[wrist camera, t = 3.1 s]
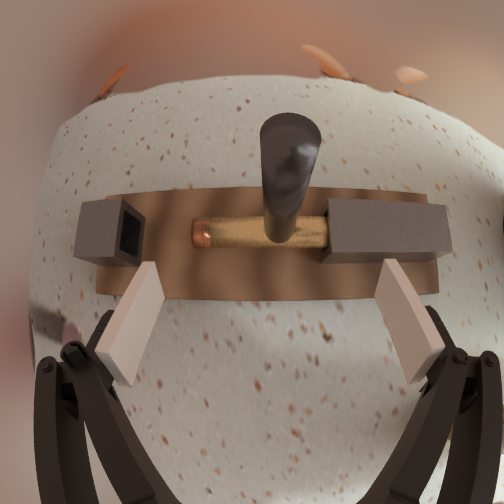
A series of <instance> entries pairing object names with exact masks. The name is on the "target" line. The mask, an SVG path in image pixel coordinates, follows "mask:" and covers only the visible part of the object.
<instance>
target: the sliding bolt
mask: <svg viewBox="0 0 504 504" xmlns="http://www.w3.org/2000/svg"><path fill="white" fill-rule="evenodd" d="M320 144H321V134H320V131H319V129H318V127H317V126H316V124H315V123H314V122H313V121H311V120H310V119H308V118H307V117H305V116H302V115H300V114H296V113H281V114H277V115H274V116H272V117H270V118H269V119H268V120H266V121H265V123H264V124H263V125H262V127H261V130H260V146H261V167H262V189H263V212H264V216H235V217H194V218H193V220H192V224H191V241H192V245H193V248H194V249H227V248H329V247H330V239H329V224H328V217H325V216H299V213H300V210H301V207H302V204H303V200H304V197H305V194H306V191H307V187H308V184H309V181H310V177H311V174H312V171H313V167H314V164H315V161H316V157H317V154H318V151H319V147H320Z"/></svg>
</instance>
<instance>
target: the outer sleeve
mask: <svg viewBox="0 0 504 504" xmlns="http://www.w3.org/2000/svg"><path fill="white" fill-rule="evenodd" d="M319 216H325V217H328V224H329V239H330V247H329V248H319V252H320V264H342V263H383V262H384V259H396V260H397V262H398V263H405V262H427V261H430V260H433V259H435V258H438V257H441V256H443V255H446V254H449V253H451V252H452V244H451V237H450V231H449V225H448V219H447V214H446V209H445V205H436V204H425V203H413V202H400V201H385V200H367V199H344V198H328V199H327V201H326V203H325V205H324V207H323V209H322V211H321V213H320V215H319Z"/></svg>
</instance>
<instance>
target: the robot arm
mask: <svg viewBox="0 0 504 504" xmlns="http://www.w3.org/2000/svg"><path fill="white" fill-rule="evenodd" d="M503 225H504V223H503ZM374 296H375V299H376V301H377V303H378V306H379V308H380V310H381V313H382V315H383V318H384V320H385V322H386V325H387V327H388V330H389V332H390V335H391V338H392V340H393V343H394V345H395V348H396V351H397V353H398V356H399V359H400V362H401V365H402V367H403V370H404V373H405V376H406V379H407V382H408V384H412V383H416V382H420V381H421V380H422V379H423V378H424V376H425V375H426V376H427V379H428V381H427V382H426V383H425V385H424V386H423V387H422V388H421V390H420V391H419V392H422V394H421V396H420V398H419V401H418V403H417V405H416V408H415V410H414V412H413V414H412V416H411V418H410V420H409V423H408V425H407V427H406V429H405V431H404V432H403V434H402V436H401V438H400V440H399V442H398V444H397V446H396V447H395V449H394V451H393V453H392V454H391V456H390V458H389V459H388V461H387V463H386V464H385V466H384V468H383V469H382V471H381V472H380V474H379V475H378V477H377V479H376V480H375V481H374V483H373V484H372V486H371V487H370V489H369V490H368V492H367V493H366V494H365V496H364V497H363V498H362V499H361V500H360V501H358V502H357V503H356V504H420V503H419V498H420V496H421V494H422V492H423V491H424V489H425V487H426V485H427V483H428V481H429V479H430V477H431V475H432V473H433V471H434V469H435V467H436V465H437V463H438V460H439V458H440V456H441V453H442V451H443V449H444V446H445V444H446V441H447V439H448V436H449V433H450V431H451V428H452V425H453V431H452V438H451V444H450V450H449V456H448V461H447V466H446V470H445V475H444V479H443V483H442V486H441V490H440V494H439V497H438V500H437V504H492V502H493V498H494V494H495V489H496V484H497V478H498V472H499V464H500V456H501V445H502V427H503V402H502V383H501V371H500V362H499V359H498V357H497V355H496V354H495V353H493V352H492V351H484V352H483V353H482V354H481V356H480V357H473V356H468V354H467V353H466V352H465V351H464V350H463V349H461V348H457V347H455V345H454V343H453V341H452V339H451V337H450V335H449V333H448V331H447V329H446V327H445V326H444V324H443V322H442V321H441V318H440V317H439V315H438V313H437V312H436V311H435V310H434V309H433V308H432V307H431V306H424V305H423V303H422V301H421V299H420V298H419V296H418V294H417V292H416V291H415V289H414V287H413V286H412V284H411V282H410V281H409V279H408V277H407V276H406V274H405V273H404V271H403V269H402V268H401V266H400V265H399V263H398V262H397V260H396V259H384V262H383V266H382V270H381V273H380V277H379V280H378V284H377V287H376V291H375V294H374ZM164 299H165V296H164V293H163V290H162V286H161V283H160V279H159V276H158V272H157V269H156V265H155V262H142V264H141V265H140V267H139V269H138V270H137V272H136V274H135V276H134V277H133V279H132V281H131V282H130V284H129V286H128V288H127V289H126V291H125V293H124V295H123V297H122V298H121V300H120V302H119V304H118V306H117V307H116V309H115V310H108V311H107V312H106V313H105V314H104V315H103V316H102V317H101V319H100V321H99V323H98V325H97V326H96V328H95V331H94V332H93V334H92V336H91V338H90V340H89V341H88V343H87V345H86V347H84V345H83V344H82V343H81V342H79V341H71V342H69V343H67V344H66V345H65V346H64V347H63V348H62V350H61V353H60V357H61V358H62V360H63V361H64V362H57V361H56V359H55V358H54V357H52V356H47V357H44V358H43V359H42V360H40V362H39V363H38V366H37V371H36V381H35V395H34V396H35V397H34V450H35V461H36V462H35V463H36V472H37V480H38V487H39V493H40V498H41V503H42V504H99V501H98V497H97V494H96V490H95V485H94V481H93V477H92V472H91V467H90V462H89V456H88V450H87V444H86V436H85V428H84V421H85V424H86V427H87V430H88V432H89V435H90V438H91V440H92V443H93V445H94V447H95V449H96V452H97V455H98V457H99V459H100V461H101V463H102V466H103V468H104V470H105V472H106V474H107V476H108V478H109V480H110V482H111V484H112V486H113V488H114V490H115V491H116V493H117V495H118V497H119V498H120V500H121V502H122V504H182V503H181V502H179V501H178V499H177V498H176V497H175V496H174V494H173V493H172V491H171V490H170V489H169V487H168V486H167V484H166V483H165V481H164V480H163V478H162V477H161V475H160V474H159V472H158V471H157V469H156V468H155V466H154V464H153V463H152V461H151V459H150V458H149V456H148V454H147V453H146V451H145V449H144V448H143V446H142V444H141V442H140V440H139V439H138V437H137V435H136V433H135V431H134V429H133V427H132V425H131V423H130V421H129V419H128V417H127V415H126V413H125V411H124V409H123V407H122V405H121V403H120V400H119V398H118V396H117V394H116V391H115V389H114V387H113V386H112V382H113V380H114V379H115V381H116V382H117V383H118V385H122V386H127V387H132V386H133V383H134V380H135V377H136V374H137V371H138V368H139V365H140V362H141V359H142V357H143V354H144V351H145V348H146V346H147V343H148V340H149V337H150V335H151V332H152V329H153V327H154V324H155V322H156V319H157V316H158V314H159V311H160V309H161V306H162V304H163V301H164ZM422 390H423V391H422ZM453 422H454V423H453Z"/></svg>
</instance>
